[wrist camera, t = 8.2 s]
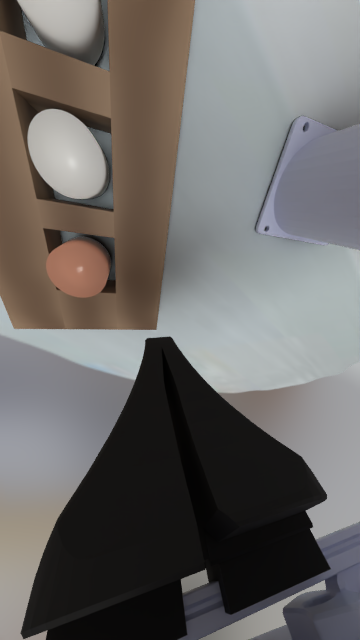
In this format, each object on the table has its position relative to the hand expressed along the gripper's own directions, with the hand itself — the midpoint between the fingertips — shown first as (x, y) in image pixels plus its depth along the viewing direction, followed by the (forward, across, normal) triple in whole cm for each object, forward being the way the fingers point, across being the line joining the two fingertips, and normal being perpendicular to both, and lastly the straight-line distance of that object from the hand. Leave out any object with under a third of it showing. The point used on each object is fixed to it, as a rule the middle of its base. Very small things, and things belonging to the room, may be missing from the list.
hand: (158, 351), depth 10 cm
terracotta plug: (+9, +5, -3) cm, 10 cm away
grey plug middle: (+10, +4, -8) cm, 13 cm away
